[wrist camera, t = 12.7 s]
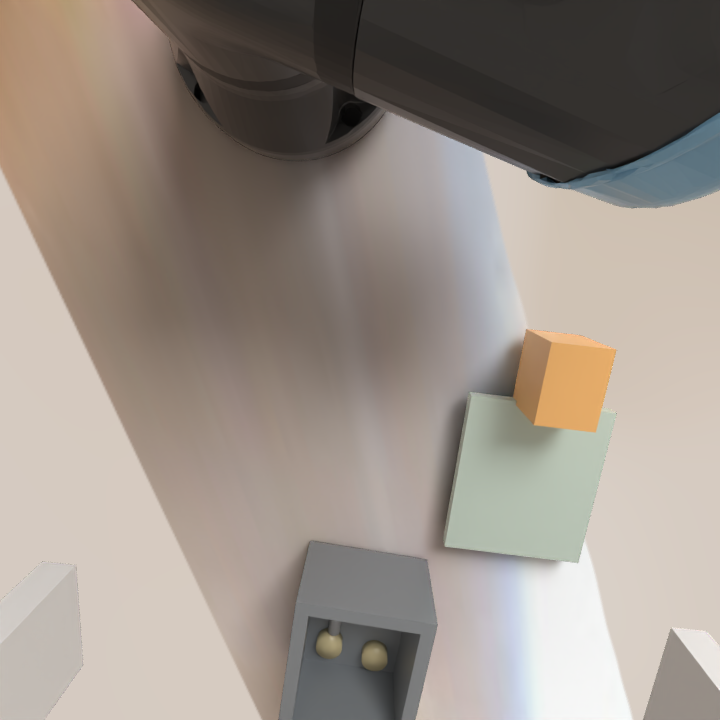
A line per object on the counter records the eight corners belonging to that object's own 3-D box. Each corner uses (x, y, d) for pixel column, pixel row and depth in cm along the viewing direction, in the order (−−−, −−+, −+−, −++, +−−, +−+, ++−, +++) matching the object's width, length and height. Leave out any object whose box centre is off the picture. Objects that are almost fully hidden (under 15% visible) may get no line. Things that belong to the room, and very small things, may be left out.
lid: (477, 321, 34) (498, 335, 28) (619, 338, 34) (669, 356, 28) (441, 531, 38) (452, 581, 33) (567, 547, 38) (602, 600, 32)
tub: (310, 540, 39) (296, 601, 32) (427, 559, 39) (437, 625, 32) (292, 655, 42) (276, 734, 35) (401, 673, 42) (406, 756, 35)
